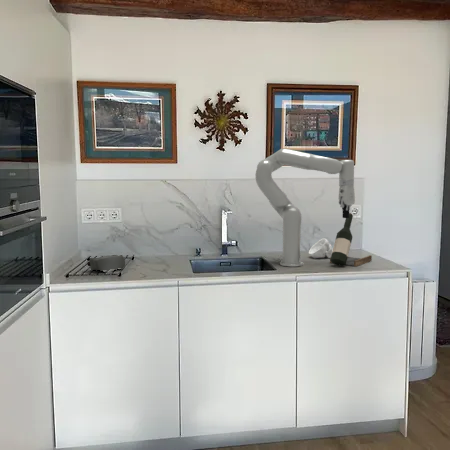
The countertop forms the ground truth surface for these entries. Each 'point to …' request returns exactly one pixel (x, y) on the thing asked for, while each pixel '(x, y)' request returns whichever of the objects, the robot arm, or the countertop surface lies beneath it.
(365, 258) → the cradle
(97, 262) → the grey rounded piece
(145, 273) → the countertop surface
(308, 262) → the countertop surface
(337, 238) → the wine bottle
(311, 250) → the skull bowl
